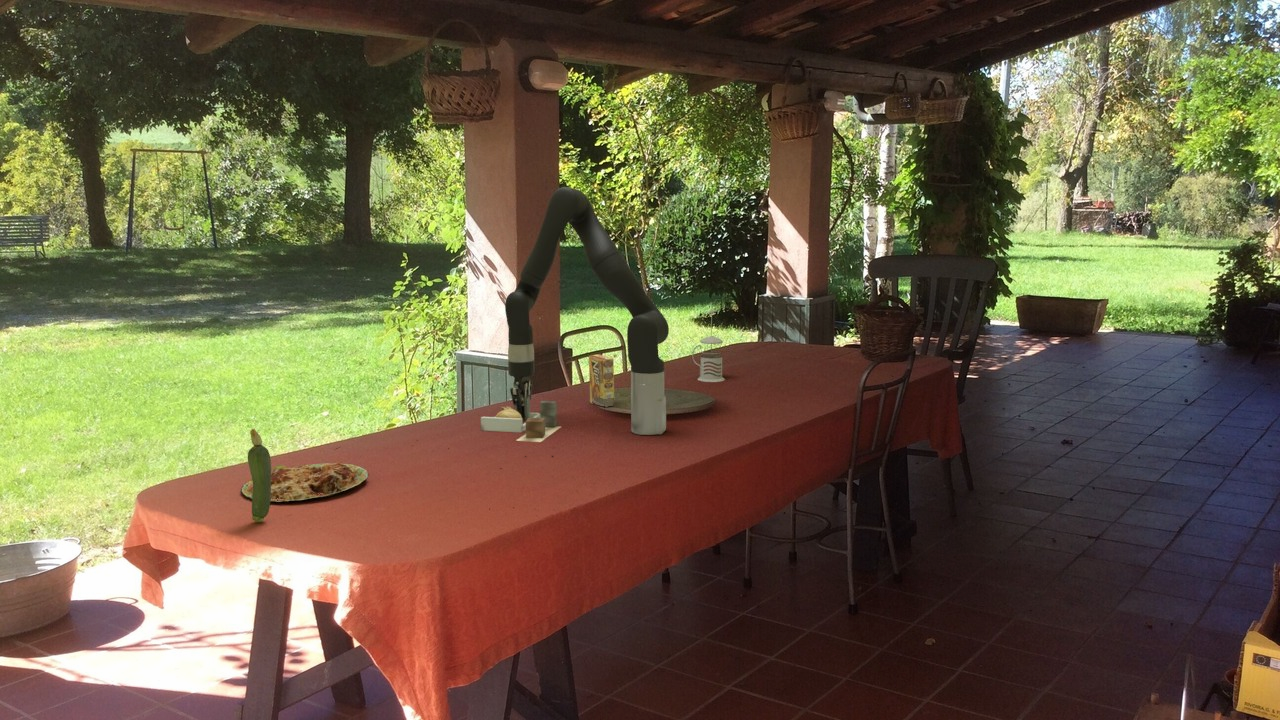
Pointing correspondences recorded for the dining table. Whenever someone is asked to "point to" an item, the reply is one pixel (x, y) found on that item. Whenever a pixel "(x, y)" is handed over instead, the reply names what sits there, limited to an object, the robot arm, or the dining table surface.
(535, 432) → the walnut cube
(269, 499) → the vegetable
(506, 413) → the onion
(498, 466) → the dining table surface
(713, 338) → the french press
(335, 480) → the rice dish
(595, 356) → the candy box
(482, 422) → the grey rectangular frame
